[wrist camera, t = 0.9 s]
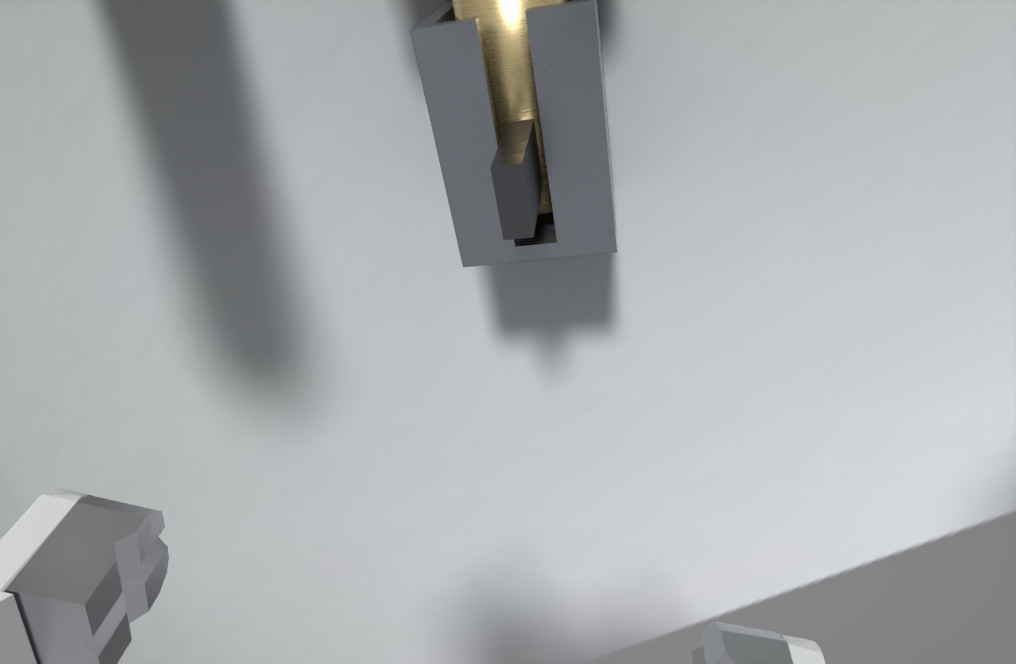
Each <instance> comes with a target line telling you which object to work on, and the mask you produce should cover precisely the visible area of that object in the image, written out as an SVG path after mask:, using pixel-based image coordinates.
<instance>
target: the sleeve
mask: <svg viewBox="0 0 1016 664" xmlns="http://www.w3.org/2000/svg"><path fill="white" fill-rule="evenodd" d="M525 13H526V20H527V28H528V35H529V42H530V49H531V57H532V64H533V71H534V78H535V86H536V93H537V100H538V107H539V115H540V122H541V129H542V136H543V143H544V151H545V158H546V165H547V172H548V180H549V187H550V194H551V201H552V209H553V212H549V213H543V214H538V215H537V220H536V226H535V231H534V237H532V238H522V239H513V240H503V235H502V230H501V224H500V219H499V213H498V208H497V202H496V197H495V191H494V186H493V181H492V175H491V170H490V167H491V164H492V162H493V159H494V156H495V154H496V151H497V148H498V146H499V143H500V139H499V133H498V127H497V121H496V116H495V110H494V104H493V98H492V92H491V86H490V81H489V75H488V69H487V63H486V57H485V52H484V46H483V40H482V34H481V28H480V23H479V17H478V16H477V17H471V18H465V19H459V20H456V19H455V14H454V8H453V3H452V2H448V3H444V4H443V5H441V6H440V7H439V8H438V9H436V10H435V11H434V12H433V13H431V14H430V15H429V16H428V17H426V18H425V19H424V20H423V21H421V22H420V23H419V24H418V25H416V26H415V27H414V28H413V29H411V30H410V31H411V35H412V40H413V44H414V49H415V53H416V58H417V62H418V67H419V71H420V76H421V80H422V85H423V89H424V94H425V98H426V103H427V107H428V112H429V116H430V121H431V125H432V130H433V134H434V139H435V143H436V148H437V152H438V157H439V161H440V166H441V170H442V175H443V179H444V184H445V188H446V193H447V197H448V202H449V206H450V211H451V215H452V220H453V224H454V229H455V233H456V238H457V242H458V246H459V251H460V255H461V260H462V264H463V267H470V266H480V265H491V264H501V263H511V262H522V261H532V260H542V259H552V258H563V257H573V256H583V255H593V254H604V253H614V252H617V245H616V225H615V204H614V188H613V176H612V165H611V153H610V141H609V130H608V118H607V107H606V95H605V84H604V72H603V61H602V49H601V37H600V26H599V14H598V3H597V0H568V2H562V3H556V4H550V5H544V6H538V7H532V8H527V9H526V11H525Z"/></svg>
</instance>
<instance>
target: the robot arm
mask: <svg viewBox="0 0 1016 664" xmlns="http://www.w3.org/2000/svg"><path fill="white" fill-rule="evenodd" d="M164 527H165V524H164V519H163V514H162V511H159V510H154V509H150V508H145V507H141V506H136V505H132V504H127V503H122V502H118V501H113V500H109V499H104V498H100V497H95V496H91V495H87V494H82V493H78V492H73V491H68V490H63V489H58V488H52V489H50V490H49V491H47V492H45V493H44V494H42V495H40V496H39V497H38V498H37V499H36V500H35V502H34V503H33V504H32V505H31V506H30V507H29V508H28V509H27V510H26V512H25V513H24V514H23V515H22V516H21V517H20V518H19V519H18V520H17V522H16V523H15V524H14V525H13V526H12V527H11V528H10V529H9V531H8V532H7V533H6V534H5V535H4V536H3V537H2V538H1V539H0V664H117V663H118V661H119V660H120V658H121V656H122V655H123V653H124V652H125V650H126V648H127V647H128V645H129V643H130V642H131V640H132V638H131V631H130V624H129V623H130V622H132V621H134V620H135V619H137V618H139V617H140V616H142V615H143V614H145V613H147V612H148V611H149V610H150V608H151V606H152V605H153V603H154V601H155V600H156V598H157V596H158V594H159V593H160V590H161V587H162V584H163V582H164V579H165V576H166V573H167V568H168V560H169V555H168V547H167V546H166V545H165V543H164V542H163V541H162V540H161V539H160V538H159V535H160V533H161V532H162V530H163V529H164ZM702 641H703V647H701V648H698V649H696V650H694V651H692V652H691V653H690V655H689V657H688V659H687V661H686V663H685V664H825V661H824V658H823V655H822V651H821V649H820V648H819V646H818V645H817V644H816V642H814V641H811V640H807V639H801V638H796V637H791V636H784V635H779V634H777V633H775V632H770V631H764V630H759V629H754V628H748V627H743V626H738V625H732V624H727V623H721V622H716V621H713V622H711V623H709V624H708V625H707V626H706V628H705V630H704V631H703V633H702Z"/></svg>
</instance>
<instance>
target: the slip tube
mask: <svg viewBox="0 0 1016 664" xmlns="http://www.w3.org/2000/svg"><path fill="white" fill-rule="evenodd" d="M562 2H568V0H452V3H453V8H454V14H455V19H456V20H459V19H465V18H471V17H477V16H478V17H479V23H480V28H481V34H482V40H483V46H484V52H485V57H486V63H487V69H488V75H489V81H490V86H491V92H492V98H493V104H494V110H495V116H496V121H497V127H498V133H499V139H500V143H499V146H498V148H497V151H496V154H495V156H494V159H493V162H492V164H491V167H490V170H491V175H492V181H493V186H494V191H495V197H496V202H497V208H498V213H499V219H500V224H501V230H502V235H503V240H513V239H522V238H532V237H534V231H535V226H536V220H537V215H538V214H543V213H549V212H553V209H552V201H551V194H550V187H549V180H548V172H547V165H546V158H545V151H544V143H543V136H542V129H541V122H540V115H539V107H538V100H537V93H536V86H535V78H534V71H533V64H532V57H531V49H530V42H529V35H528V28H527V20H526V13H525V11H526V9H527V8H532V7H538V6H544V5H550V4H556V3H562Z"/></svg>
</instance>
